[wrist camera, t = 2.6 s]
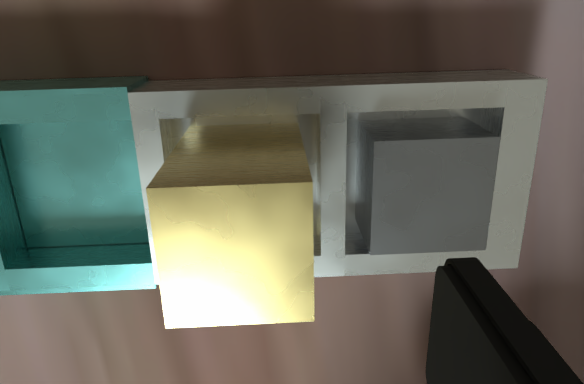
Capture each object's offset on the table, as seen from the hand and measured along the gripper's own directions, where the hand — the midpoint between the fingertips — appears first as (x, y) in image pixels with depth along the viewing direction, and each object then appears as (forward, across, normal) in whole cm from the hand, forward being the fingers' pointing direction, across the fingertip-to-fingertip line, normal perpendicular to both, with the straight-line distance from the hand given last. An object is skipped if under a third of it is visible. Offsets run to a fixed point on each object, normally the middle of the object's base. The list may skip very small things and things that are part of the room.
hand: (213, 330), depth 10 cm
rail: (+13, 0, +1) cm, 13 cm away
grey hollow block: (+12, -7, +1) cm, 14 cm away
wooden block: (+12, 0, +1) cm, 12 cm away
